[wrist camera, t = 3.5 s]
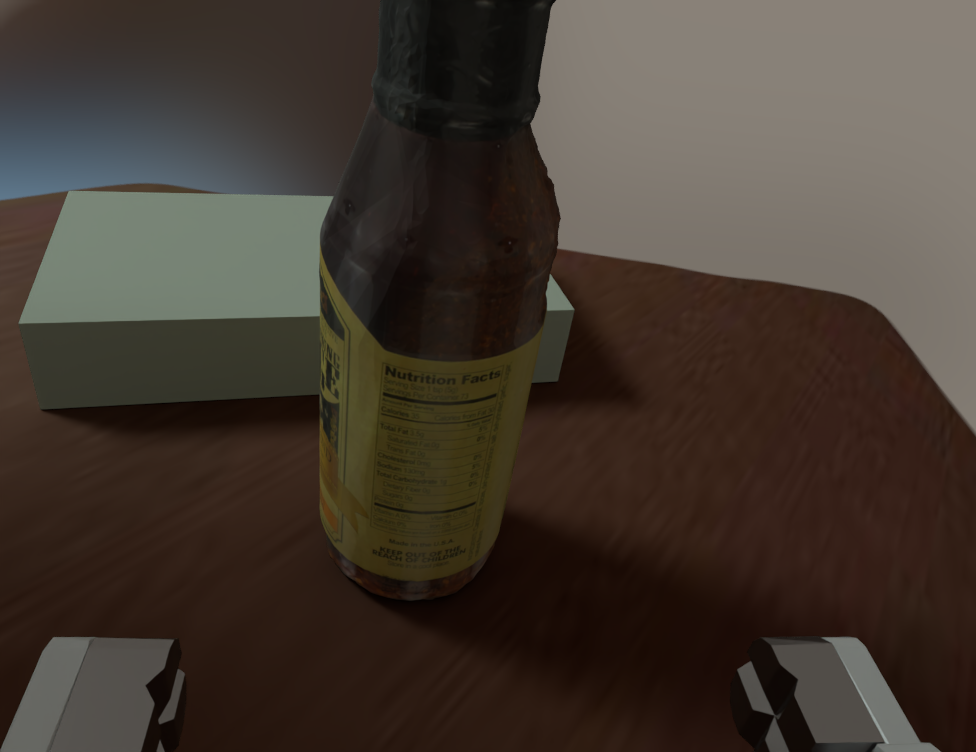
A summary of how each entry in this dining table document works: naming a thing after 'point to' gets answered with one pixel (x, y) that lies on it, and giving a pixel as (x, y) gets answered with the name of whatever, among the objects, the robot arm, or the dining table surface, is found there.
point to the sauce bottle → (434, 295)
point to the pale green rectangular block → (191, 301)
